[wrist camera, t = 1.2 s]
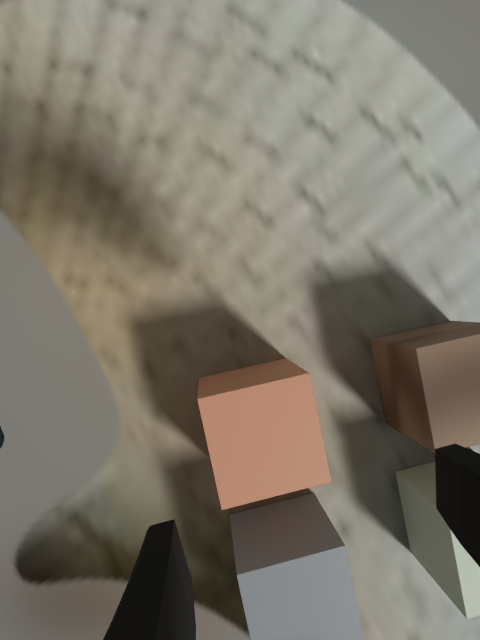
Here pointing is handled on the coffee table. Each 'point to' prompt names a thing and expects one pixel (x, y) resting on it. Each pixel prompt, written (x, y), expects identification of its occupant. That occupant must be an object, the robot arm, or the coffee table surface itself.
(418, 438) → the walnut block
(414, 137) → the coffee table surface
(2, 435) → the handgun
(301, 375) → the terracotta block
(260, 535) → the slate block
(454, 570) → the sage block
